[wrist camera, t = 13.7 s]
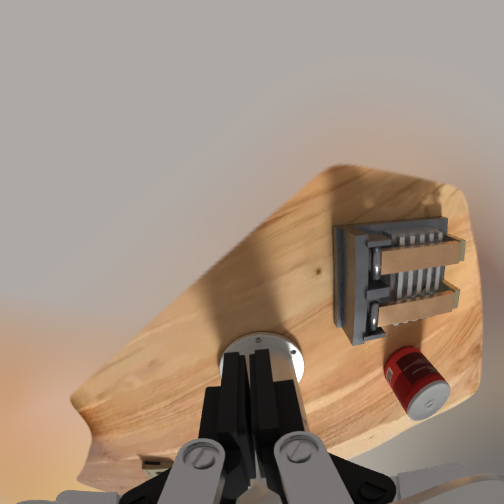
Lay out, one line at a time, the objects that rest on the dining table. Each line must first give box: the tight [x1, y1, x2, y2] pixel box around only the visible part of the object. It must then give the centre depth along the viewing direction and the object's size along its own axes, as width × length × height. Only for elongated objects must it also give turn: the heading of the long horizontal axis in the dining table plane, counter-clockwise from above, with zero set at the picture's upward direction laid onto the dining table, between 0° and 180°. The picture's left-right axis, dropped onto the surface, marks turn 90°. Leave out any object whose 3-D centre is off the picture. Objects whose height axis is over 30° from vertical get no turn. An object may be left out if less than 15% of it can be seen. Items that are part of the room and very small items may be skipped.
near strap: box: [371, 241, 460, 280], centre depth 31 cm, size 4×13×1 cm, turn 96°
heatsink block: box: [332, 216, 466, 346], centre depth 35 cm, size 14×18×7 cm
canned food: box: [384, 346, 450, 421], centre depth 38 cm, size 8×8×11 cm
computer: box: [142, 461, 174, 479], centre depth 50 cm, size 16×8×3 cm, turn 12°
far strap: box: [368, 290, 455, 332], centre depth 33 cm, size 4×13×1 cm, turn 96°
